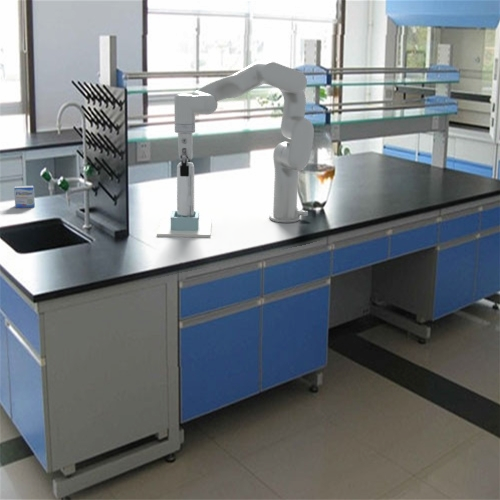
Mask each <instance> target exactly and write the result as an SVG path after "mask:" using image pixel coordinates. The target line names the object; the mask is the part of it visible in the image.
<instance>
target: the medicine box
mask: <svg viewBox="0 0 500 500" xmlns="http://www.w3.org/2000/svg"><path fill="white" fill-rule="evenodd" d="M13 191H14V192H13V193H14V194H13V195H14V207H15V209H25V208H26V209H27V208H28V209H29V208H35V207H36V205H35V203H36V202H35V201H36V199H35V187H34V185H14V186H13Z"/></svg>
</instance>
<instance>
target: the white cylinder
mask: <svg viewBox="0 0 500 500" xmlns="http://www.w3.org/2000/svg"><path fill="white" fill-rule="evenodd" d="M177 163H178V162H177ZM180 165H181V161H180V162H179V163H178V164H176V204H177V205H176V207H177V208H176V209H177V210H176V211H177V217H194V211H195V165H194V163H193V162H192V161H190V162H188V166H189V176H180Z"/></svg>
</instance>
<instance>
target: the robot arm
mask: <svg viewBox="0 0 500 500" xmlns="http://www.w3.org/2000/svg"><path fill="white" fill-rule="evenodd" d="M262 85H269V86H271V87H274V88H277V89H278V90H279V91H280V92H281V94H282V96H283V110H282V116H281V117H282V118H281V124H280V133H281V135H282V136H283V137H284V138H286V139H288V140H290V142H289V141H283V142H279V143H278V144H277V145H275V146H276V147H275V148H274V150H273V155H272V156H273V157H272V159H273V165H274V183H273V184H274V185H273V186H274V187H273V208H272V209H273V210H272V211H273V212H272V213H270V214H269V216H268V217H269V220H271V221H273V222H277V223H281V224H282V223H283V224H287V223H289V224H290V223H292V224H293V223H297V222H299V221H300V220H301V216H305V217H306V216H307V217H308V215H309V211H308V210H304V209H298V207H297V205H298V186H299V171H302V170H304V169H305V168H307V166H308V164H309V162H310V159H311V155H312V149H313V143H314V138H315V137H314V136H315V129H314V128H315V127H314V125H313V122H311V120H309V119H307V118H305V113H306V106H307V101H306V100H307V99H306V95H305V91H304V90H305V89H306V88H307V85H308V78H307V77H306V75H305V73H303V72H302V71H300V70H297V69H294V68H292V67H289V66H285V65H283V64H280V63H278V62H275V61H269V60H264V59H260V60H257V61H255V62H252V63H251V64H250V65H248V66H246V67H243V68H242V69H240V70H239V71H236V72H235V73H233V74H230V75H228V76H225V77H223V78H221V79H219V80H215V81H213V82H210V83H207V84H206V85H204V86H202V87H200V88H199V89H197V90H195V91H193V92H192V93H178V94H176V95H175V96H174V103H173V105H174V132H175V133H176V134H177V148H178V149H177V150H178V158H179V160H180V162H181V165H180V176H189V166H188V162H191V161H192V159H193V157H194V151H193V150H194V148H193V147H194V144H193V140H194V139H193V136H194V135H193V134H194V133H196V114H198V115H207V116H208V115H210V114H213V113H215V112H216V111H217V109H218V105H219V104H218V102H219V101H221V100H225V99H233V98H239V97H243V96H244V95H246V94H248V93H249V92H251V91H253V90H255V89H257V88H258V87H261V86H262Z"/></svg>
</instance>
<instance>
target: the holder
mask: <svg viewBox="0 0 500 500" xmlns="http://www.w3.org/2000/svg"><path fill="white" fill-rule="evenodd" d="M170 214H171V215H170V219H166V218H164V219H163V218H162V219H160V222H159V225H158V229H157V232H156V237H158V238H159V237H161V238H163V237H165V238H168V237H169V238H175V237H179V238H211V232H212V219H200V211H196V210H194V217H177V210H172V211H171V213H170Z"/></svg>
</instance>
